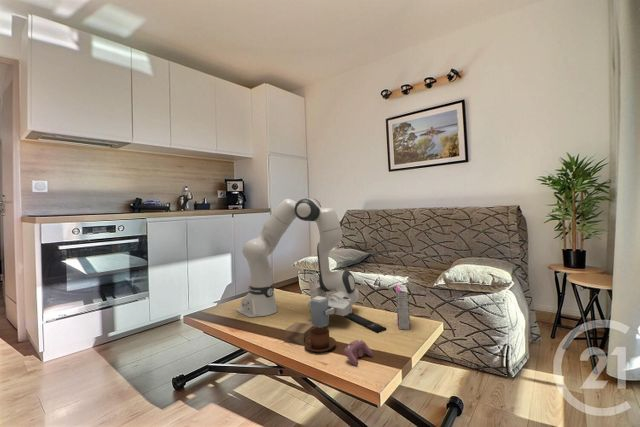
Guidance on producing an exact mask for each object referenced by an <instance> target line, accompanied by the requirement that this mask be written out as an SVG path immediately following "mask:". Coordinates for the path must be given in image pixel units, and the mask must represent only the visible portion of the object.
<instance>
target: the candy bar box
mask: <svg viewBox="0 0 640 427" xmlns="http://www.w3.org/2000/svg"><path fill="white" fill-rule="evenodd" d="M395 298H396V315H397V316H396V317H397V319H396V320H397V326H398V329H399V330H401V329H410V330H411V320H410V317H411V316H410V303H409V290H408V286H407V284H395Z"/></svg>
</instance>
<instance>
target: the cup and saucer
mask: <svg viewBox="0 0 640 427" xmlns="http://www.w3.org/2000/svg"><path fill="white" fill-rule="evenodd" d="M336 342H337V341H336V339H335V338H333V337H332V336H330V330H329V329H328V328H327V327H322V328H319V327H315V329H312V330H311V331H310V337H307V338H306V341H305V343H304V344H305V345H304V346H305V348H306V349H307V350H308V351H311V352H317V353H318V352H319V353H321V352H322V353H323V352H327V351H330V350H332V349H333V348H334V347H335V346H336V344H337V343H336Z"/></svg>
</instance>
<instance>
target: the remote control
mask: <svg viewBox="0 0 640 427" xmlns="http://www.w3.org/2000/svg"><path fill="white" fill-rule="evenodd" d="M343 317H344V318H345V319H347V320H350V321H352V322H354V323H356V324H358V325H360V326H362V327H365V328H366V329H368V330H370V331H372V332H375V333H377V334H379V332H380V333H382V332H385V331H387V327H385V326H383V325H381V324H378V323H376V322H374V321H373V320H372V321H371V320H370V319H367V318H365V317H363V316H361V315H358V314H356V313H354V312H351V313H349V314H348V315H346V316H343Z"/></svg>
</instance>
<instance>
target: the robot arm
mask: <svg viewBox="0 0 640 427" xmlns="http://www.w3.org/2000/svg"><path fill="white" fill-rule="evenodd" d="M296 218H298V220H301V221H304V222H315V223H316V225H317V229H318V233H319V241H318V243H317V245H316V251H317V252H316V254H317V262H318V265H317V266H318V285H320V287H321V288H322V289H323V290H324V291H325V292H326V293H331V292H334V293H332V294H330V295H328V297H327V299H328V310H324V315H328V314H329V315H337V316H341V317H344V316H346V315H348V314H349V313H353V305H355V303H357V301H358V299H359V298H360V292H359V290H358V288H357V287H356V280H355V277H354V275H353V274H352V272H350V270H348V269H346V270H345V269H344V270H337V271H332V270H331V269H330V260H329V254H330V252H331V251H332V250H333V249H335V248H336V247H337V246H339V245H340V243H341V242H342V240H343V231H342V228H341V223H340V219H339V217H338V215H337V213H336V210H335V209H334V208H332V207H322V206H321V202H319V200H317V199H316V198H311V197H305V198H302V199H300V200H298V201H295V200H293V199H292V198H285V199H283V200H282V201H281V202H280V203H279V204H278V205H277V206H276V207H275V208H274V209H273V211H272V212H271V214H270V215H269V216H268V217H267V220H266V221H265V222H264V224H263V227H262V229H261V232H260V233H259V234H258V236H256V237H255V238H252V239H249V240H248V241H247V242H246V243H245V244H244V246H243V247H242V254H243V256H244V258H245V259H246V261H247V264H248V268H249V273H250V286H249V285H248V288H247V289H249V290H248V293H247V294H245V296H243V297H242V299H241V301H240V306H239V307H237V308H236V312H237V313H240V314H242V315H244V316H246V317H248V318H255V317H266V316H271V315H273V314H276V312H278V305H277V303H276V302H277V301H276V294H275V292H274V290H275V285H274V283H273V281H274V280H273V270H272V269H273V268H272V267H271V265H270V262H269V256H270V255H272V254H273V252H274V251H275V249H276V247H277V245H278V244H279V242H280V241H281V239H282V237H283V235H284V234H285V233H286V231H287V229H288V228H289V227H290V226H291V224H292V223H293V222H294V220H296ZM308 309H310V310H311V299H310V300H308Z"/></svg>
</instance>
